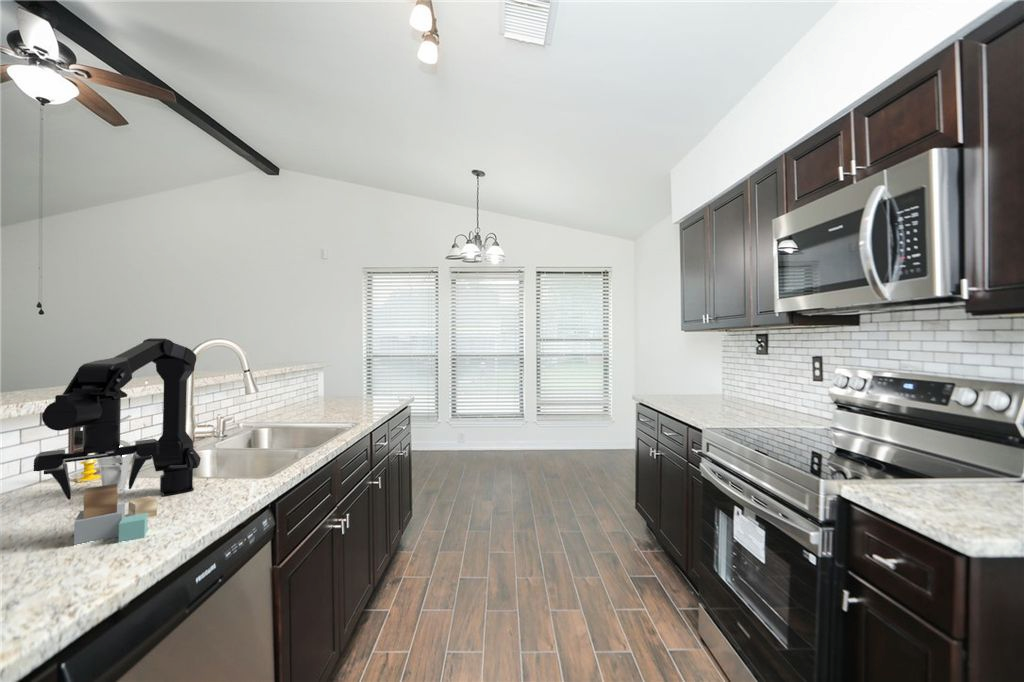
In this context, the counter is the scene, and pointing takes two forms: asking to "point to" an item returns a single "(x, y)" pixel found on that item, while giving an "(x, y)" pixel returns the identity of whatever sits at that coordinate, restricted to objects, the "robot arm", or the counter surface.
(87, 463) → the candle
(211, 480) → the counter surface
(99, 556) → the counter surface
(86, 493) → the walnut cube
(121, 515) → the grey cube
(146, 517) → the teal cube
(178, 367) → the robot arm
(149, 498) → the maple cube
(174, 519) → the counter surface
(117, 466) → the cup with straw
